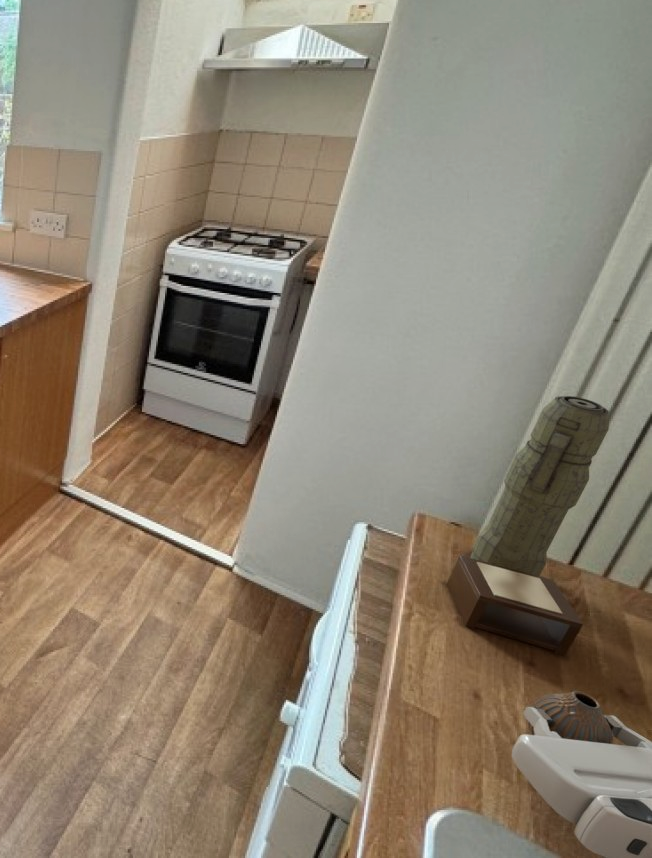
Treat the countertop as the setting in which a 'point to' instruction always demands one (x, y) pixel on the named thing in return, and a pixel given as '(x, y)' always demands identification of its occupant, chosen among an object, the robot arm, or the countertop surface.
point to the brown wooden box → (513, 604)
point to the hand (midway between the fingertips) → (566, 714)
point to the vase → (575, 717)
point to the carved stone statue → (543, 484)
